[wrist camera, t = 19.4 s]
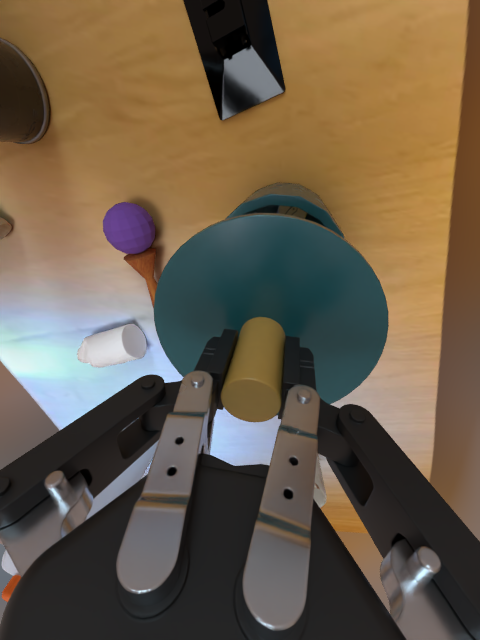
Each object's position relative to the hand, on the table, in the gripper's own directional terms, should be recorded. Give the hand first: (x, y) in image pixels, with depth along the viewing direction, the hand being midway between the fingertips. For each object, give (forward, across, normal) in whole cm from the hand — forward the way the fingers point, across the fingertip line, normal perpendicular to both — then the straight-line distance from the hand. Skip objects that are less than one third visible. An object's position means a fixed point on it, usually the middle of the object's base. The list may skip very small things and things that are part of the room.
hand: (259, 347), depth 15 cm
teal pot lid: (+2, 0, 0) cm, 2 cm away
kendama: (+23, +17, +6) cm, 29 cm away
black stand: (+23, +6, -19) cm, 31 cm away
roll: (+23, +27, +19) cm, 40 cm away
